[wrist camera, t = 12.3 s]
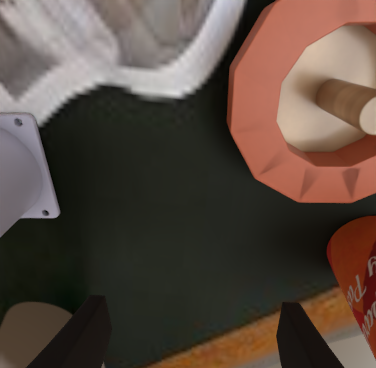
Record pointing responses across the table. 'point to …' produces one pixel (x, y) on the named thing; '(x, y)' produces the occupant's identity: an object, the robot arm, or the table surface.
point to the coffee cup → (357, 271)
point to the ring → (270, 94)
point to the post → (331, 92)
